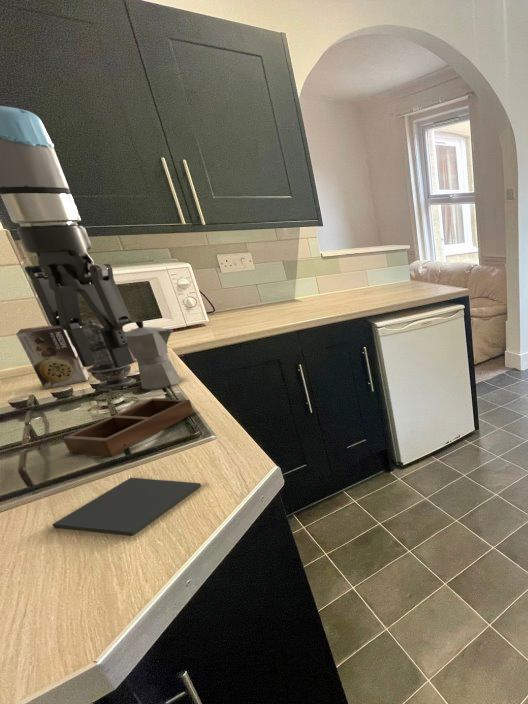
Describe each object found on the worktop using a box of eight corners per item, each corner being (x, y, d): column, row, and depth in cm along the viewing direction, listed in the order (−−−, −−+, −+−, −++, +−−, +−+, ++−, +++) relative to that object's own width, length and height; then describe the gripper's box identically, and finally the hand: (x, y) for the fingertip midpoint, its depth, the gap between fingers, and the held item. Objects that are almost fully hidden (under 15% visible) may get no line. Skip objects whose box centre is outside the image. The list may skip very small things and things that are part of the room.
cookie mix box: (89, 375, 125) (66, 322, 119) (87, 381, 121) (63, 326, 115) (46, 383, 120) (20, 328, 114) (42, 389, 116) (14, 332, 109)
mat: (53, 527, 63) (51, 524, 63) (131, 480, 74) (130, 477, 74) (132, 535, 61) (131, 532, 61) (201, 486, 72) (200, 483, 72)
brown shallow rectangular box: (69, 453, 83) (62, 438, 82) (158, 411, 100) (152, 398, 99) (112, 456, 82) (105, 440, 80) (194, 413, 99) (189, 399, 98)
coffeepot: (194, 374, 124) (174, 314, 117) (184, 385, 115) (161, 322, 109) (131, 382, 119) (106, 320, 112) (115, 394, 111) (87, 328, 104)
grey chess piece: (130, 376, 79) (105, 314, 75) (144, 381, 76) (119, 317, 72) (89, 387, 74) (60, 321, 70) (103, 393, 72) (73, 324, 67)
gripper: (126, 222, 67) (174, 358, 76) (28, 225, 70) (86, 357, 79) (75, 224, 60) (134, 373, 69) (-31, 227, 63) (39, 371, 72)
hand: (108, 364), depth 74 cm, fingers closed on grey chess piece, 6 cm apart
